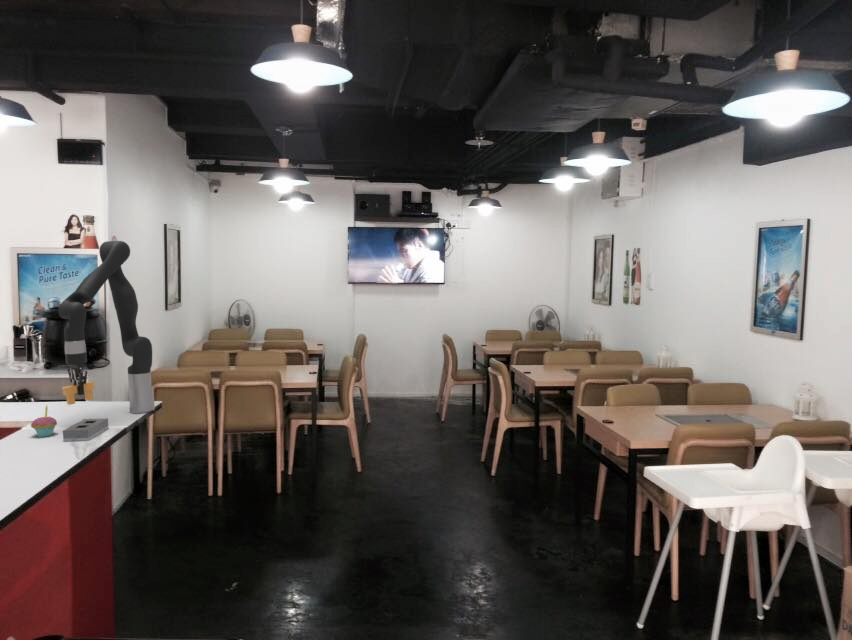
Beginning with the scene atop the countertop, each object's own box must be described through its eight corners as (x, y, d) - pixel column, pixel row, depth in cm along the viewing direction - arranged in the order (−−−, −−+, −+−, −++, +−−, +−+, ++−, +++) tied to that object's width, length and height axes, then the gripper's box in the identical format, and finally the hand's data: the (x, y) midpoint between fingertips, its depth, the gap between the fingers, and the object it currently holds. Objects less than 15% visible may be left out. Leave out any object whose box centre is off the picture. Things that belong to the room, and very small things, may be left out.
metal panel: (85, 428, 262) (84, 418, 262) (108, 428, 263) (107, 418, 263) (63, 441, 244) (62, 430, 244) (88, 440, 245) (87, 429, 245)
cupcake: (62, 433, 256) (60, 402, 255) (43, 439, 248) (41, 407, 247) (46, 431, 259) (43, 401, 258) (26, 437, 251) (24, 406, 250)
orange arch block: (92, 398, 272) (90, 381, 271) (95, 398, 270) (93, 382, 269) (64, 404, 264) (62, 387, 262) (67, 405, 262) (65, 388, 261)
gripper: (92, 351, 262) (96, 394, 264) (78, 349, 272) (81, 390, 274) (72, 354, 257) (76, 398, 259) (58, 351, 266) (62, 393, 268)
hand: (79, 393), depth 266 cm, fingers closed on orange arch block, 3 cm apart
